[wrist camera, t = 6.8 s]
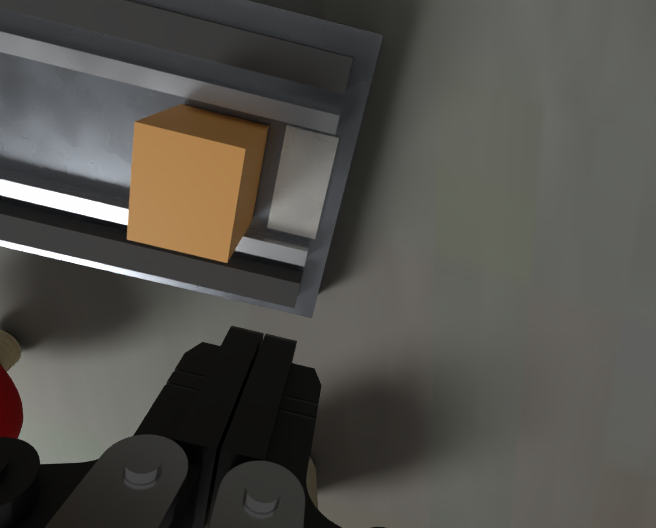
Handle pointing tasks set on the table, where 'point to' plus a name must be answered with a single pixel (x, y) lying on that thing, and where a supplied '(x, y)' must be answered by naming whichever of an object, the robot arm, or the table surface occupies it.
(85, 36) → the panel
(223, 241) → the tan cardboard cube
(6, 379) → the red heart figurine
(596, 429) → the table surface
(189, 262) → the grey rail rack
